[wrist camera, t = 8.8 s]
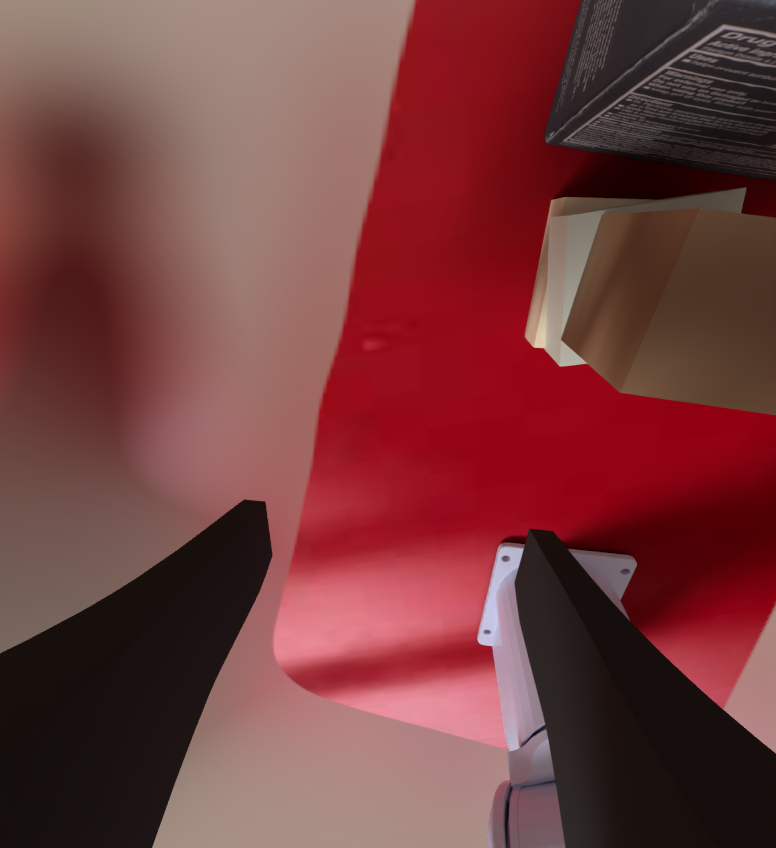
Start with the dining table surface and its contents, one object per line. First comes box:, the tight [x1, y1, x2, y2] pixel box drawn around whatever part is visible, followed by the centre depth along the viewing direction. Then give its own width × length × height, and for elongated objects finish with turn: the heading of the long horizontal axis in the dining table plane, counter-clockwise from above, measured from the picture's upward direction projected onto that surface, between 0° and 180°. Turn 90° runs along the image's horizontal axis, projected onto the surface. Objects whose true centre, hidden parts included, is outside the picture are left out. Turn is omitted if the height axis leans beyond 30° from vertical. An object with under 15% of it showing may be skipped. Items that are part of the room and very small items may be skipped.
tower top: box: [545, 188, 746, 366], centre depth 14 cm, size 5×5×2 cm
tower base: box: [525, 197, 654, 348], centre depth 16 cm, size 6×6×2 cm
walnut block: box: [561, 208, 776, 415], centre depth 11 cm, size 4×4×5 cm
